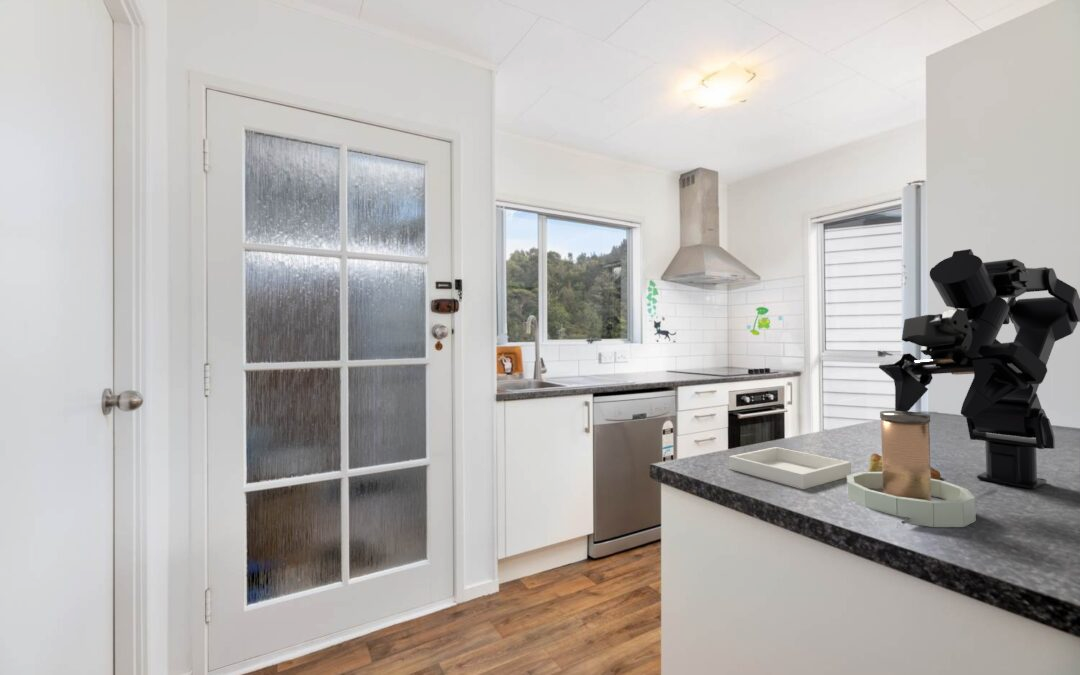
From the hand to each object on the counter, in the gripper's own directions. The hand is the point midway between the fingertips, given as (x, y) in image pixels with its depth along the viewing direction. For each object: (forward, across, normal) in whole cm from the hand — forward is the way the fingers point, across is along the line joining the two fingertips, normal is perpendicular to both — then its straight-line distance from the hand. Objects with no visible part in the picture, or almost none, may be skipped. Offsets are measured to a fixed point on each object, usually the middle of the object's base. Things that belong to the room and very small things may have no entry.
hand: (929, 414), depth 64 cm
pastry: (+5, -13, +12) cm, 18 cm away
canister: (+12, -1, +4) cm, 13 cm away
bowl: (+13, -1, +4) cm, 13 cm away
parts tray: (+14, -17, -1) cm, 22 cm away
